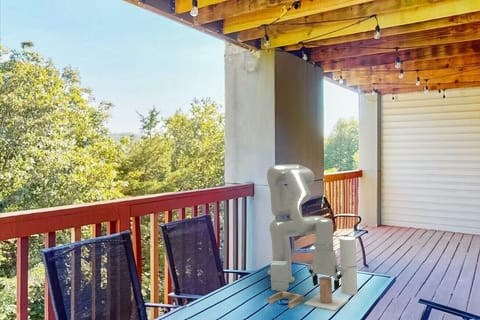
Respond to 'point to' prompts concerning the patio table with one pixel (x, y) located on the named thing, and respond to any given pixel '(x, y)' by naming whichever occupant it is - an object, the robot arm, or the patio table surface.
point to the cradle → (293, 297)
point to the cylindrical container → (348, 265)
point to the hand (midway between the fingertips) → (325, 287)
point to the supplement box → (279, 275)
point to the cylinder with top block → (325, 289)
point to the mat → (331, 306)
